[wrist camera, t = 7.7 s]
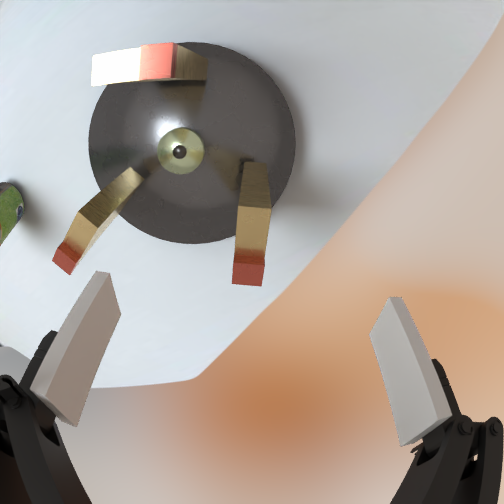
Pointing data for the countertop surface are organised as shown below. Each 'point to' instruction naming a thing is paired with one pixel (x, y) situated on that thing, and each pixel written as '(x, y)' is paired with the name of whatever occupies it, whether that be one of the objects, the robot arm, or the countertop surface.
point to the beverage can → (9, 209)
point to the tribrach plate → (193, 145)
